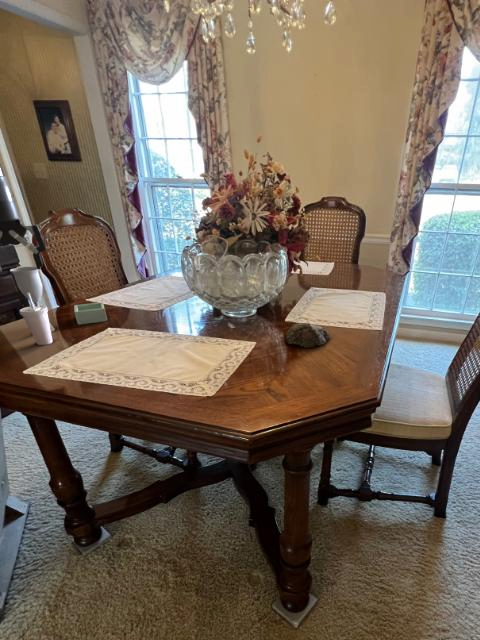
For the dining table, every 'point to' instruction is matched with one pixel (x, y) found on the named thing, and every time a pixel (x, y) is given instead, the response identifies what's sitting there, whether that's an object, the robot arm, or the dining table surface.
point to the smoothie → (37, 322)
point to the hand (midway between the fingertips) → (20, 270)
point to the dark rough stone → (307, 335)
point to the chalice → (29, 284)
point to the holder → (90, 313)
